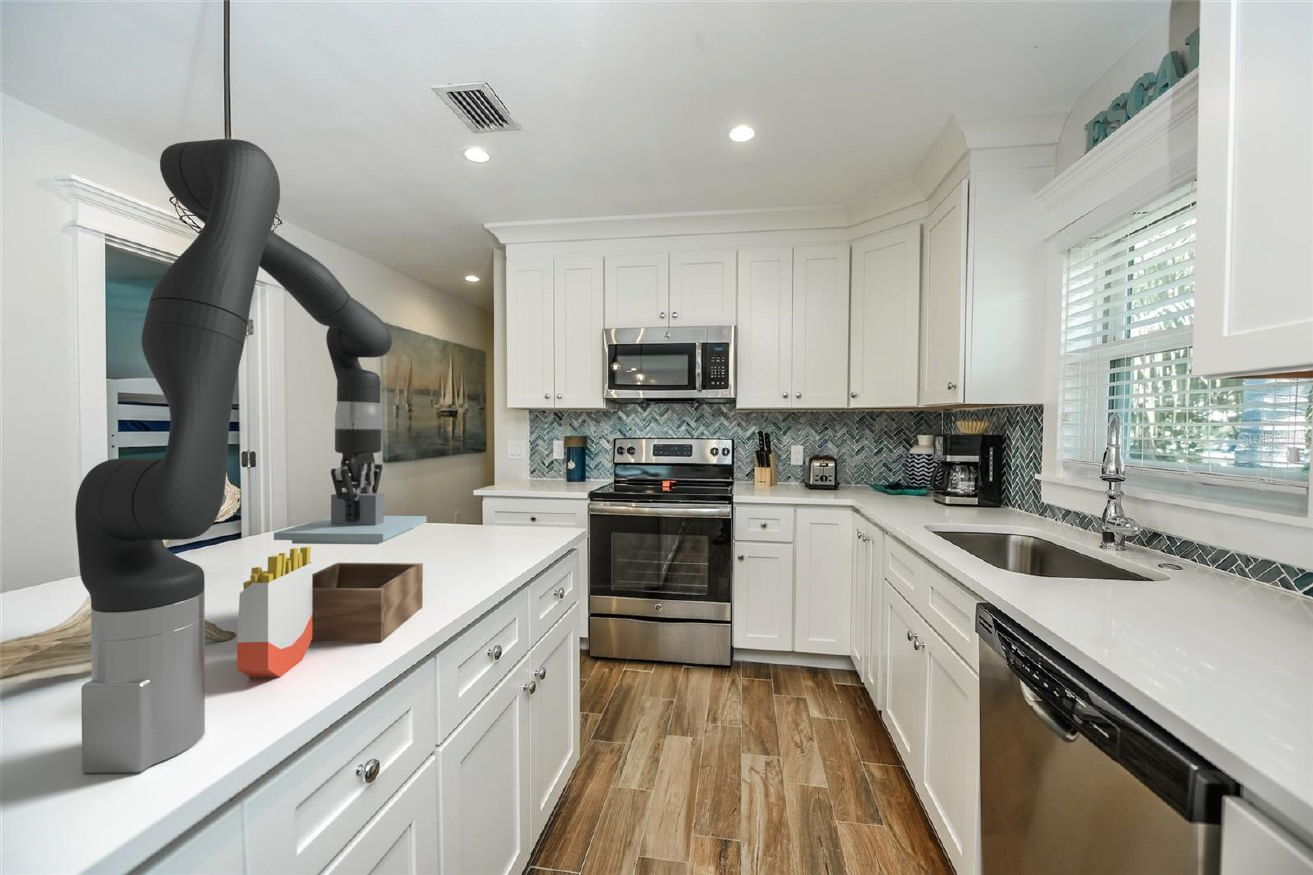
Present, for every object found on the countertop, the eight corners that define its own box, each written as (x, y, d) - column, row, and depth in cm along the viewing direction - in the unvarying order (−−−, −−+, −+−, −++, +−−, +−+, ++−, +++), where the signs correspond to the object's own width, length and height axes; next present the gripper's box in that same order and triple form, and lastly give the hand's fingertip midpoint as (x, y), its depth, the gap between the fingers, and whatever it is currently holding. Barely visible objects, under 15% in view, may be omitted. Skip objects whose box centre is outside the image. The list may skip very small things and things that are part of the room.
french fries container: (234, 687, 73) (233, 560, 72) (282, 653, 83) (282, 542, 83) (268, 686, 73) (268, 560, 72) (312, 652, 84) (312, 542, 83)
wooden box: (381, 642, 88) (381, 590, 88) (279, 642, 87) (279, 589, 87) (422, 607, 105) (422, 563, 105) (337, 606, 104) (337, 562, 104)
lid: (382, 547, 87) (383, 501, 87) (273, 545, 86) (274, 500, 86) (426, 526, 105) (426, 489, 105) (336, 525, 104) (336, 488, 104)
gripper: (358, 427, 89) (358, 527, 89) (397, 427, 103) (396, 514, 103) (314, 426, 88) (313, 526, 88) (358, 426, 102) (357, 513, 103)
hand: (357, 519), depth 96 cm, fingers closed on lid, 3 cm apart
